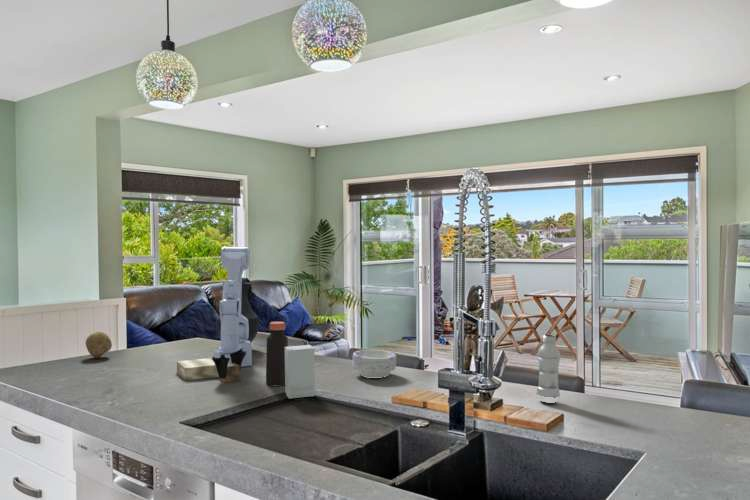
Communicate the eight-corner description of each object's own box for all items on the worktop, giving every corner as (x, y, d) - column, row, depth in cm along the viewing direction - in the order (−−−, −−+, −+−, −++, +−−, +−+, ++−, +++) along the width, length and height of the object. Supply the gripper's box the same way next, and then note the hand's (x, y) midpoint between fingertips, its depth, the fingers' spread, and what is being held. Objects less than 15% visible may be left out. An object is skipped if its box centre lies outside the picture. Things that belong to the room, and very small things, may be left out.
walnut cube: (234, 377, 193) (234, 362, 193) (239, 380, 189) (239, 365, 189) (219, 379, 190) (219, 364, 190) (224, 382, 186) (224, 367, 186)
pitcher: (208, 353, 232) (209, 279, 232) (229, 343, 253) (230, 276, 252) (249, 355, 230) (250, 280, 229) (267, 345, 250) (268, 277, 249)
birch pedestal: (211, 369, 204) (211, 357, 204) (221, 376, 194) (221, 364, 194) (176, 372, 198) (177, 361, 198) (184, 380, 188) (184, 368, 188)
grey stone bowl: (402, 379, 194) (403, 356, 194) (360, 382, 189) (360, 358, 189) (386, 369, 208) (386, 348, 208) (346, 372, 203) (347, 350, 203)
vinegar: (261, 383, 185) (262, 322, 185) (278, 380, 190) (279, 320, 190) (274, 387, 181) (275, 324, 180) (291, 384, 186) (292, 322, 185)
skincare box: (310, 391, 177) (311, 344, 176) (315, 397, 171) (316, 347, 171) (283, 394, 174) (284, 345, 173) (287, 399, 168) (288, 349, 168)
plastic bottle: (548, 407, 165) (549, 338, 164) (531, 401, 171) (533, 334, 170) (564, 404, 168) (566, 336, 167) (547, 398, 174) (549, 333, 173)
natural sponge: (104, 354, 226) (104, 329, 226) (116, 357, 221) (116, 331, 221) (81, 358, 219) (81, 332, 219) (93, 361, 214) (93, 334, 213)
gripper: (232, 330, 197) (231, 369, 198) (206, 337, 184) (205, 379, 184) (249, 332, 195) (249, 371, 195) (224, 339, 181) (223, 381, 182)
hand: (229, 375), depth 189 cm, fingers closed on walnut cube, 7 cm apart
